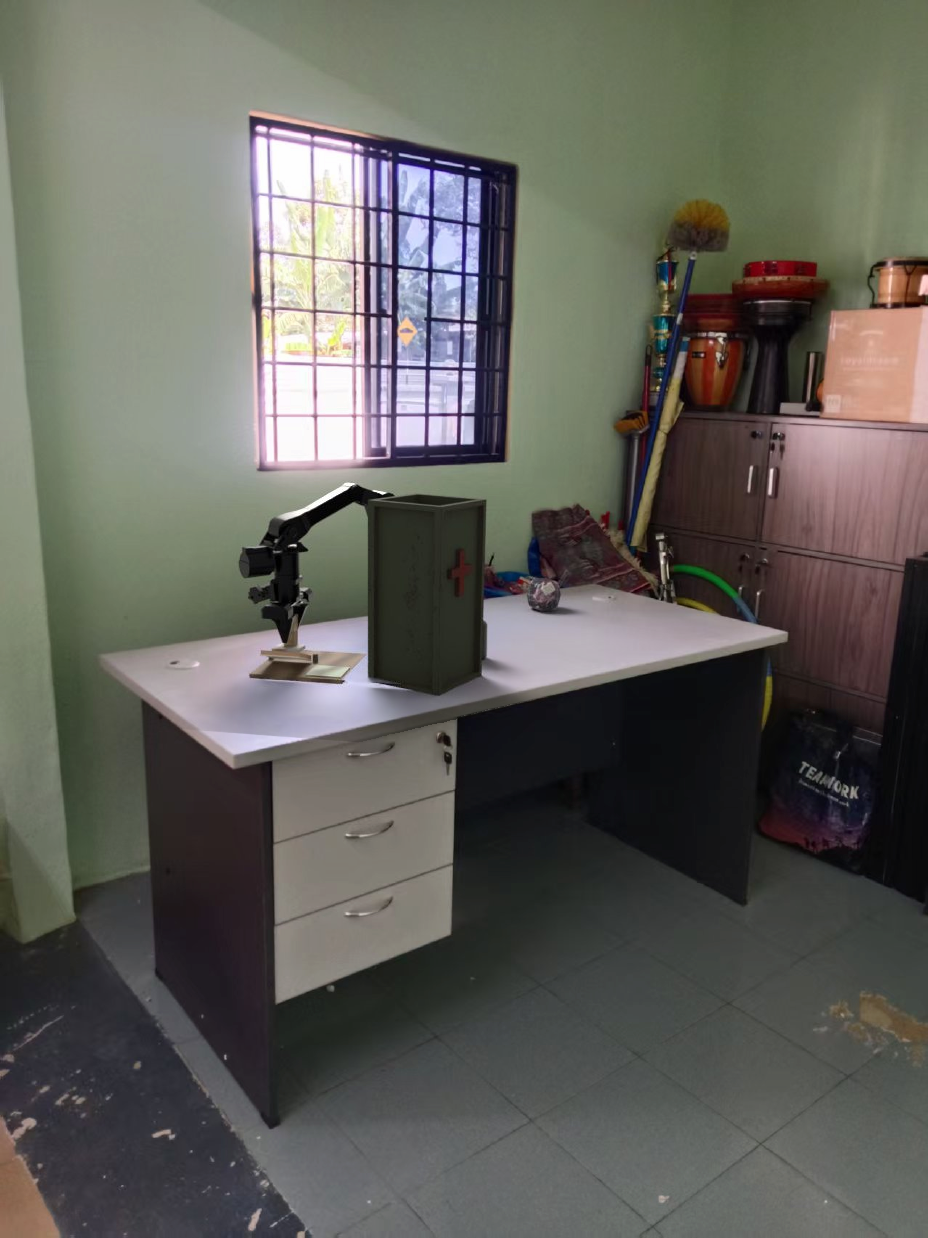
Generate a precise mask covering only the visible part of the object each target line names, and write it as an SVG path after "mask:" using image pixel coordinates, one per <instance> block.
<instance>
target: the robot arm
mask: <svg viewBox="0 0 928 1238" xmlns="http://www.w3.org/2000/svg"><path fill="white" fill-rule="evenodd" d="M393 496H396V495H395V494H393V493H391V492H387V491H383V490H376V489H375V490H372V489H368V488H365V487H363V486H360V485H359V484H357V483H351V482H345V483H343V484H342V485H340V487H338V488H336V489H335V490H333V491H331V492H329V493H328V494H326V495H324V496H323V497H321V498H319V499H317V500H315V501H313V502H311V503H310V504H308V505H307V506H305V507H303V508H301V509H298V510H293V511H287V512H285V513H281V514H280V515H276V516H274V517H273V518H271V519H270V520H269V521H268V522H269V523H268V529H267V531H266V532H265V534H264V536H263V538H262V539H261V541H260V542H259V544H258V545H256V546H242V547H241V551H242V552H241V553H240V555H239V560H238V561H237V562H238V570H239V572H240V575H241V576H242V578H243V579H251V578H259V577H266V576H270V575H272V573H273V577H272V578H271V579H270V580H269V582H268V583H265V584H261V585H259V584H256V585H255V586H251V587H249V591H248V592H247V593H248V597H247V598H248V600H250V601H252V604H253V605H257V604H259V603H261V602H264V601H267V600H269V602H268V603H267V604H266V605H264V606H263V607H262V608H260V618H261V619H263V620H271V621H273V623H274V624H275V626H276V629H277V631H278V635H279V637H280V640H281V642H282V643H281V644H284V643H287V642H288V639H289V636H290V633H291V630H292V627H293V623H294V620H295V617H296V615H293V614H298V629H299V628H300V626H301V623H302V621H303V619H304V615H305V614H306V611H307V609H308V607H309V606H310V605H309V604H310V602H312V601H313V600H314V592H313V590H312V589H311V588H310V587H301V582H302V581H303V579H304V577H303V575H301V574H300V573H301V571H300V569H301V568H300V554H301V553H308V552H309V548H307V547H306V546H305V545H304V544H303V543H302V542H301V540H302V539H304V537H305V536H307V535H308V533H309V532H310V530H311V529H312V528H313V527H314V526H316V525H317V524H318V523H320V522H322V521H324V520H325V519H327V518H329V517H331V516H333V515H334V514H336V513H338V512H340V511H342V510H343V509H345V508H347V507H348V506H350V505H353V504H356V505H358V506H361V507H364V510H365V513H366V517H367V518H368V500H372V499H379V498H386V497H393ZM303 600H305V601H306V602H307V603H304V601H303Z"/></svg>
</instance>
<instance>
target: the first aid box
mask: <svg viewBox="0 0 928 1238" xmlns="http://www.w3.org/2000/svg"><path fill="white" fill-rule="evenodd" d="M487 501H488V500H487V499H486V498H474V497H462V496H451V495H439V494H430V493H419V492H417V493H409V494H408V493H407V494H402V495H395V496H393V497H386V498H379V499H372V500H368V517H367V677H368V678H371V679H377V680H381V681H385V682H377V681H373V683H374V684H379V685H385V686H389V687H393V688H399V689H402V690H403V689H404V690H408V691H413V692H417V693H423V694H427V695H431V696H432V695H433V696H438V697H439V696H441V695H443V694H445V693H448V692H450V691H452V690H454V689H456V688H458V687H460V686H463V685H464V684H467V683H469V682H470V681H473V680H475V679H477V678H479V677H481V676H482V675H483V674H482V673H483V660H482V647H483V620H484V618H483V615H484V607H485V606H484V604H485V603H484V601H485V574H486V573H485V567H486V566H485V565H486V564H485V563H486V562H485V561H486V529H487V528H486V527H487ZM389 682H390V683H389Z"/></svg>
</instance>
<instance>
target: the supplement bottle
mask: <svg viewBox="0 0 928 1238" xmlns="http://www.w3.org/2000/svg"><path fill="white" fill-rule="evenodd" d="M484 617H485V616H484V614H483V647H482V661H485V660H486V659H487V657H488V623H487V622H486V620H484Z"/></svg>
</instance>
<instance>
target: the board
mask: <svg viewBox="0 0 928 1238" xmlns="http://www.w3.org/2000/svg"><path fill="white" fill-rule="evenodd" d="M299 653H303V654H307V655H311V661H306V660H290V659H274V658H269V657H268V659H266V660H265V661H264V662H263V663H262V664H260V665H259V666H258V667H256V668H255V669H253V670H252V671H251V672H250V673H248V675H249V679H258V680H272V681H273V680H275V681H286V682H287V681H289V682H290V681H291V682H304V683H316V684H318V683H319V684H320V683H321V684H332V685H333V684H335V685H342V684H344V682H346V680H345V679H344V678H345V677H346V676H347V675H348V674H349V673H350V672H351V671H352V670H353V669H354V668H355V667H356V665H358V663H359V662H360V661H361V660H362V659H364V657H365V656H366V655H367V653H359V652H358V653H357V652H347V651H346V652H345V651H344V652H343V651H330V650H329V651H328V650H327V651H326V650H324V651H323V650H314V649H313V650H312V649H304V650H302V651H300V652H299Z"/></svg>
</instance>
